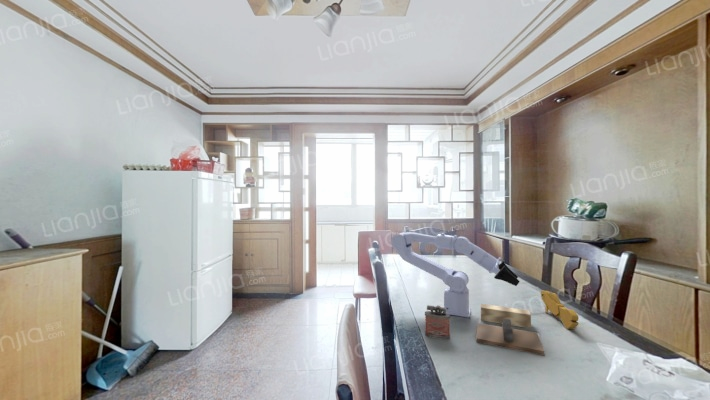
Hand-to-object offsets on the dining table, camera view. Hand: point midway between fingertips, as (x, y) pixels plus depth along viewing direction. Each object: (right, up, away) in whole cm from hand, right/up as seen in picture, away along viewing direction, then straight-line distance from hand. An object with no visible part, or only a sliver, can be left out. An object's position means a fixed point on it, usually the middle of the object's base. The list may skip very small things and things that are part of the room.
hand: (517, 281), depth 100 cm
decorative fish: (+17, -15, +2) cm, 23 cm away
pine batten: (-4, -16, +1) cm, 16 cm away
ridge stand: (-10, -15, -12) cm, 22 cm away
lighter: (-32, -16, -9) cm, 37 cm away
